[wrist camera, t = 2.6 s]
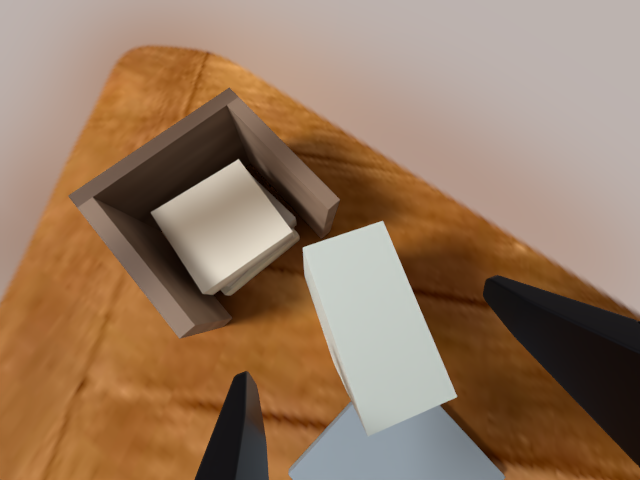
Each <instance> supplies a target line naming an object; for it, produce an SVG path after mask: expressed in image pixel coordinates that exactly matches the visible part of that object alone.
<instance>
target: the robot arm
mask: <svg viewBox="0 0 640 480" xmlns="http://www.w3.org/2000/svg"><path fill="white" fill-rule="evenodd" d="M483 297H484V299H485V301H486V302H487V303H488V305H489V306H490V307H491V308H492V310H493V311H494V312H495V313H496V315H497V316H498V317H499V318H500V320H501V321H502V322H503V323H504V325H505V326H506V327H507V328H508V330H509V331H510V332H511V333H512V334H513V336H514V337H515V338H516V339H517V340H518V341H519V342H520V343H521V344H522V345H523V346H524V347H525V348H526V349H527V350H528V351H529V352H530V354H531V355H532V356H533V357H534V358H535V359H536V360H537V361H538V362H539V363H540V364H541V365H542V366H543V367H544V368H545V369H546V370H547V371H548V372H549V373H550V374H551V375H552V377H553V378H554V379H555V380H556V381H557V382H558V383H559V384H560V385H561V386H562V387H563V388H564V389H565V390H566V391H567V392H568V393H569V394H570V395H571V396H572V397H573V398H574V399H575V401H576V402H577V403H578V404H579V405H580V406H581V407H582V408H583V409H584V410H585V411H586V412H587V413H588V414H589V415H590V416H591V417H592V418H593V419H594V420H595V421H596V422H597V423H598V425H599V426H600V427H601V428H602V429H603V430H604V431H605V432H606V433H607V434H608V435H609V436H610V437H611V438H612V439H613V440H614V441H615V442H616V443H617V444H618V445H619V446H620V448H621V449H622V450H623V451H624V452H625V453H626V454H627V455H628V456H629V457H630V458H631V459H632V460H633V461H634V462H635V463H636V464H637V465H638V466H639V468H640V321H638V322H637V321H636V320H634V319H631V318H628V317H625V316H622V315H619V314H616V313H613V312H610V311H607V310H604V309H600V308H597V307H594V306H591V305H588V304H585V303H582V302H579V301H576V300H573V299H570V298H567V297H564V296H561V295H557V294H554V293H551V292H548V291H545V290H542V289H539V288H536V287H533V286H530V285H527V284H524V283H521V282H518V281H514V280H511V279H508V278H505V277H502V276H498V275H496V276H493V277H490V278H488V279H486V281H485V286H484V291H483ZM195 480H269V477H268V461H267V446H266V437H265V430H264V424H263V418H262V412H261V406H260V400H259V394H258V389H257V385H256V383H255V381H254V380H253V378H252V377H251V375H250V374H249V372H247V371H245V372H242V373H240V374H237V375H236V376H235V377H234V378H233V381H232V384H231V386H230V389H229V391H228V394H227V397H226V399H225V402H224V404H223V407H222V410H221V412H220V415H219V417H218V420H217V423H216V425H215V428H214V430H213V433H212V435H211V438H210V441H209V443H208V446H207V448H206V451H205V454H204V456H203V459H202V461H201V464H200V467H199V469H198V472H197V474H196V477H195Z"/></svg>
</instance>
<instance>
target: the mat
mask: <svg viewBox="0 0 640 480" xmlns="http://www.w3.org/2000/svg"><path fill="white" fill-rule="evenodd" d="M289 476H290V477H291V478H292V479H293V480H504V478H505V476H504V475H503V474H502V473H501V471H500V470H499V469H498V468H497V467H496V466H495V465H494V464H493V463H492V462H491V461H490V460H489V458H488V457H487V456H486V455H485V454H484V453H483V452H482V451H481V450H480V449H479V448H478V446H477V445H476V444H475V443H474V442H473V441H472V440H471V439H470V438H469V437H468V436H467V434H466V433H465V432H464V431H463V430H462V429H461V428H460V427H459V426H458V425H457V424H456V423H455V421H454V420H453V419H452V418H451V417H450V416H449V415H448V414H447V413H446V412H445V411H444V409H443V408H442V407H441V406H440V405H438V406H436V407H434V408H431V409H429V410H427V411H425V412H422V413H420V414H418V415H416V416H413V417H411V418H409V419H406V420H404V421H402V422H400V423H397V424H395V425H393V426H391V427H388V428H386V429H384V430H382V431H379V432H377V433H375V434H373V435H370V436H367V434H366V431H365V429H364V427H363V425H362V423H361V421H360V419H359V416H358V414H357V412H356V410H355V408H354V406H353V404H352V401H351V402H350V403H349V404H348V405H347V406H346V407H345V408H344V409H343V411H342V412H341V413H340V414H339V415H338V416H337V417H336V418H335V419H334V420H333V421H332V423H331V424H330V425H329V426H328V427H327V428H326V429H325V430H324V431H323V432H322V433H321V435H320V436H319V437H318V438H317V439H316V440H315V441H314V442H313V443H312V444H311V445H310V447H309V448H308V449H307V450H306V451H305V452H304V453H303V454H302V455H301V456H300V457H299V459H298V460H297V461H296V462H295V463H294V464H293V465H292V466H291V467H290V468H289Z"/></svg>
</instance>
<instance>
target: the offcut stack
mask: <svg viewBox="0 0 640 480" xmlns="http://www.w3.org/2000/svg"><path fill="white" fill-rule="evenodd" d="M150 213H151V214H152V216H153V217H154V219H155V220H156V222H157V223H158V225H159V227H160V228H161V230H162V231H163V233H164V234H165V236H166V237H167V239H168V241H169V242H170V244H171V245H172V247H173V248H174V250H175V251H176V253H177V255H178V256H179V258H180V259H181V261H182V262H183V264H184V266H185V267H186V269H187V270H188V272H189V273H190V275H191V276H192V278H193V280H194V281H195V283H196V284H197V286H198V287H199V289H200V290H201V292H202V294H209V295H213V294H215V293H216V292H218V291H219V290H221V291H222V292H223V294H224V295H228V296H231V295H232V294H234V293H235V292H236V291H237V290H239V289H240V288H241V287H242V286H244V285H245V284H246V283H247V282H248V281H250V280H251V279H252V278H253V277H255V276H256V275H257V274H258V273H260V272H261V271H262V270H263V269H265V268H266V267H267V266H268V265H269V264H271V263H272V262H273V261H274V260H276V259H277V258H278V257H279V256H281V255H282V254H283V253H284V252H285V251H287V250H288V249H289V248H290V247H292V246H293V245H294V244H295V243H297V242H298V241H299V240H300V237H299V234H298V233H297V232H296V231H295V230H294V227H295V226H296V217H294V216H293V215H292V214H291V213H290V212H289V211H288V210H287V209H286V208H285V207H284V206H283V205H282V204H281V203H280V202H279V201H278V200H277V199H276V198H275V197H274V196H273V195H271V194H270V193H269V192H268V191H267V190H266V189H265V188H264V187H263V186H262V185H261V184H260V183H259V182H258V181H257V180H256V179H255V178H254V177H253V176H252V175H251V174H250V173H249V172H248V171H247V170H246V168H245V167H244V166H243V164H242V163H241V162H240V160H239V159H238V160H237V161H235V162H233V163H232V164H230V165H228V166H227V167H225V168H223V169H222V170H220V171H218V172H217V173H215V174H213V175H212V176H210V177H208V178H207V179H205V180H203V181H202V182H200V183H198V184H197V185H195V186H194V187H192V188H190V189H189V190H187V191H185V192H184V193H182V194H180V195H179V196H177V197H175V198H174V199H172V200H170V201H169V202H167V203H165V204H164V205H162V206H160V207H159V208H157V209H155V210H154V211H152V212H150Z"/></svg>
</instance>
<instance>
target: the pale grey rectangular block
mask: <svg viewBox="0 0 640 480" xmlns="http://www.w3.org/2000/svg"><path fill="white" fill-rule="evenodd" d="M303 260H304V275H305V279H306V282H307V285H308V288H309V291H310V294H311V297H312V300H313V303H314V306H315V309H316V312H317V315H318V318H319V321H320V324H321V326H322V329H323V332H324V335H325V338H326V341H327V344H328V347H329V350H330V353H331V356H332V359H333V362H334V365H335V367H336V369H337V371H338V373H339V376H340V378H341V380H342V382H343V384H344V386H345V388H346V391H347V393H348V395H349V397H350V399H351V401H352V404H353V406H354V408H355V410H356V412H357V414H358V416H359V419H360V421H361V423H362V425H363V427H364V429H365V431H366V434H367V436H370V435H373V434H375V433H377V432H379V431H382V430H384V429H386V428H388V427H391V426H393V425H395V424H397V423H400V422H402V421H404V420H406V419H409V418H411V417H413V416H416V415H418V414H420V413H422V412H425V411H427V410H429V409H431V408H434V407H436V406H438V405H440V404H443V403H445V402H447V401H449V400H452V399H454V398H456V397H457V395H456V393H455V390H454V388H453V385H452V383H451V381H450V378H449V376H448V374H447V371H446V369H445V367H444V364H443V362H442V359H441V357H440V355H439V352H438V350H437V348H436V345H435V343H434V340H433V338H432V336H431V333H430V331H429V329H428V326H427V324H426V322H425V319H424V317H423V314H422V312H421V310H420V307H419V305H418V303H417V300H416V298H415V296H414V293H413V291H412V288H411V286H410V284H409V281H408V279H407V277H406V274H405V272H404V270H403V267H402V265H401V262H400V260H399V258H398V255H397V253H396V251H395V248H394V246H393V244H392V241H391V239H390V236H389V234H388V232H387V229H386V227H385V225H384V222H383V221H381V222H378V223H375V224H372V225H369V226H366V227H363V228H360V229H357V230H354V231H351V232H347V233H344V234H341V235H338V236H335V237H332V238H329V239H326V240H323V241H320V242H317V243H314V244H311V245H308V246H305V247H303Z"/></svg>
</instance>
